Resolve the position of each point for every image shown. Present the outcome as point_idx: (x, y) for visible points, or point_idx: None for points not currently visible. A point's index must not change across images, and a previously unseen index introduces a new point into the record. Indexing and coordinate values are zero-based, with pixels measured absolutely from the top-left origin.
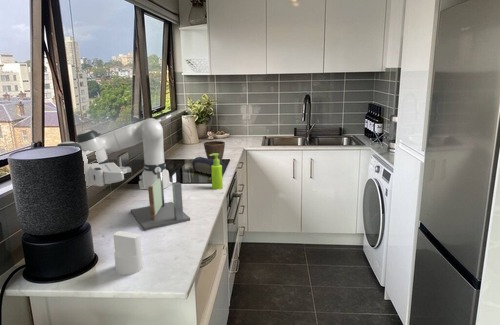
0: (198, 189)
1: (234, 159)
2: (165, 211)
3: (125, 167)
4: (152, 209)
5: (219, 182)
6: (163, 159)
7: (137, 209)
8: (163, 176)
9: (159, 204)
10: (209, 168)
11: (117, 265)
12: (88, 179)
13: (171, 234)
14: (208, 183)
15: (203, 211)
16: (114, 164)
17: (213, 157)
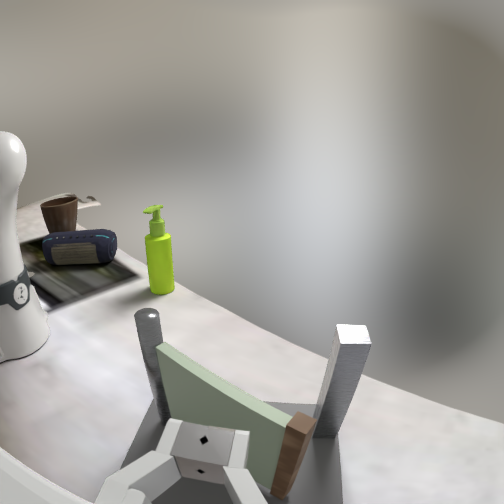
0: (130, 308)
1: (80, 227)
2: None
3: (175, 456)
4: (293, 479)
5: (172, 274)
6: (21, 256)
7: None
8: (34, 306)
9: None
10: (91, 250)
11: None
12: None
13: (409, 471)
14: (121, 284)
15: (285, 365)
16: (16, 479)
17: (65, 229)
